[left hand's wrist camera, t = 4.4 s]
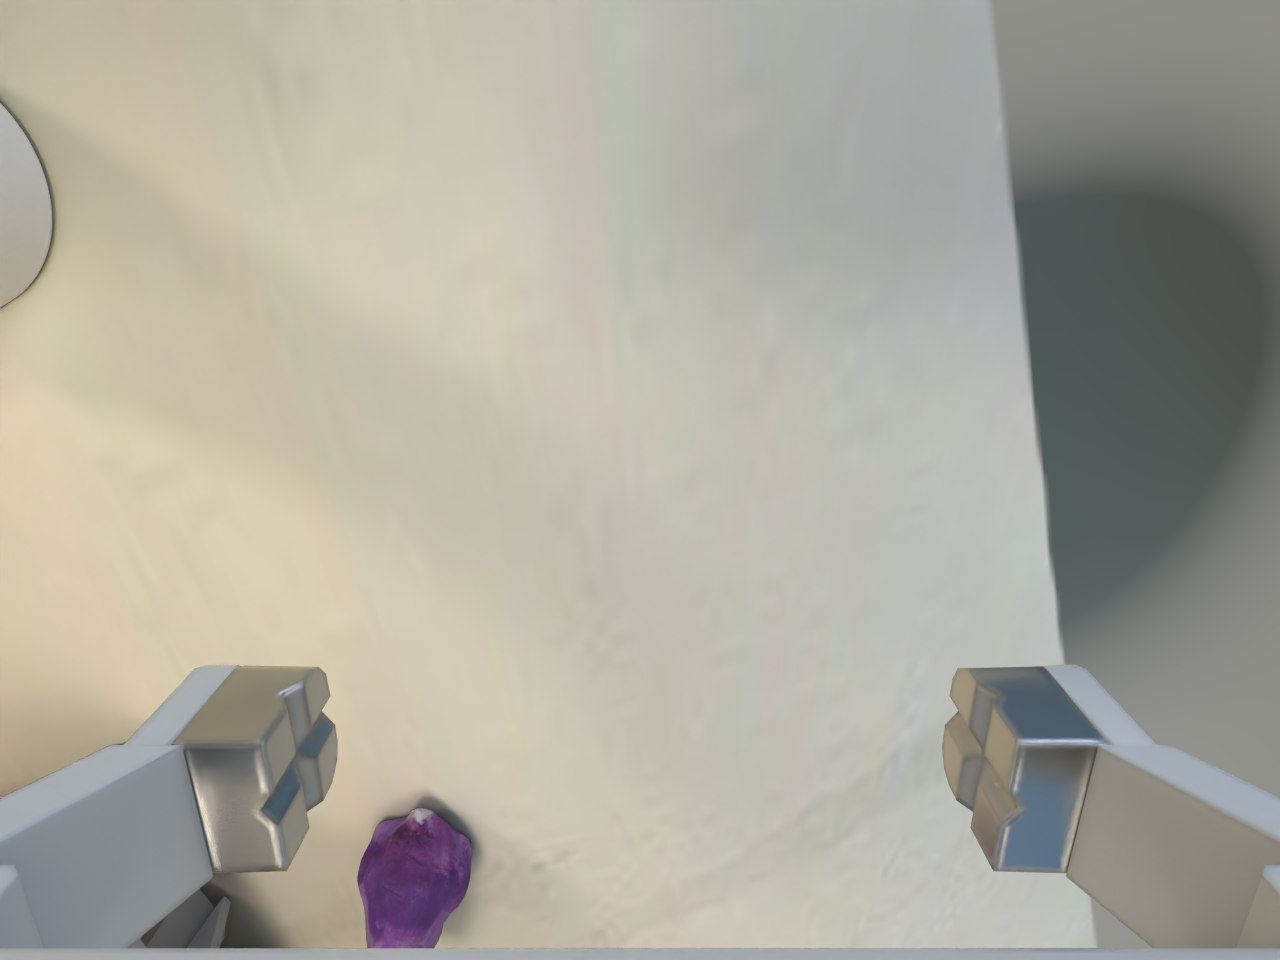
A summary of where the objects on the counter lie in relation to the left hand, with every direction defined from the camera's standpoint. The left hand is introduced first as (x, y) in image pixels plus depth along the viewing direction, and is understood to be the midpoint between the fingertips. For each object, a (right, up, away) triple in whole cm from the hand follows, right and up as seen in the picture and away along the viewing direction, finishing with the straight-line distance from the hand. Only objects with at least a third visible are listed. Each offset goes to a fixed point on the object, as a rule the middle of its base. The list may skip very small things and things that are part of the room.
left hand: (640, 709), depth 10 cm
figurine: (-17, -27, +53) cm, 62 cm away
